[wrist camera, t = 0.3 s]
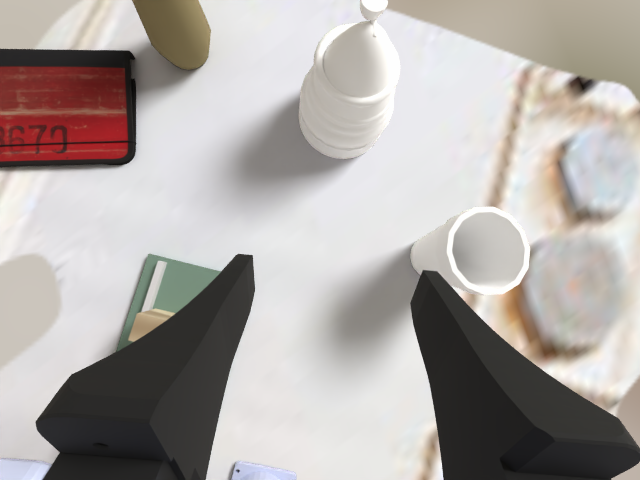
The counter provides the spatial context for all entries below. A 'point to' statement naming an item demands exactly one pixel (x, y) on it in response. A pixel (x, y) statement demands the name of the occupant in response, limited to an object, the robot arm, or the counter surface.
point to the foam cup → (475, 251)
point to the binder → (66, 107)
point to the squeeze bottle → (176, 30)
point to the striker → (148, 322)
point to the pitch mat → (165, 289)
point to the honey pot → (350, 87)
